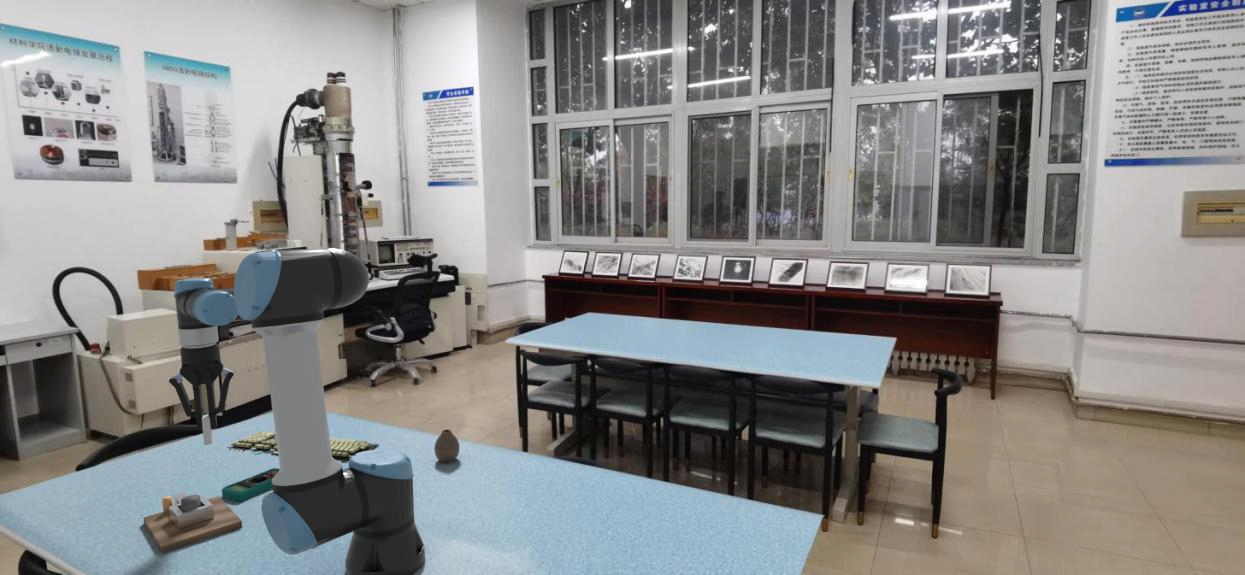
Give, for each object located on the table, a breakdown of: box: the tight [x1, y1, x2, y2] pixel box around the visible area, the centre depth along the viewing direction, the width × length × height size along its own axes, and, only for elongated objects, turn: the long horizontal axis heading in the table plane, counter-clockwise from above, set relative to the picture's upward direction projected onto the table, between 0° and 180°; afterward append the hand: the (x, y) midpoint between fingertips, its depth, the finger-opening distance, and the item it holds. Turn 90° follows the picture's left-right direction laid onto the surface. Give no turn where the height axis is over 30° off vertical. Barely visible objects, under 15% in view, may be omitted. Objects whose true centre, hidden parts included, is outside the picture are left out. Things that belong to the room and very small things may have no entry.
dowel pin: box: [161, 495, 173, 514], centre depth 146 cm, size 2×2×4 cm
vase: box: [433, 428, 460, 463], centre depth 180 cm, size 7×7×9 cm
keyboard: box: [227, 431, 380, 464], centre depth 189 cm, size 45×15×2 cm, turn 76°
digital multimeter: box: [221, 467, 280, 503], centre depth 162 cm, size 7×15×3 cm, turn 153°
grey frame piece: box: [169, 491, 214, 529], centre depth 144 cm, size 13×7×3 cm, turn 49°
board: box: [143, 494, 243, 554], centre depth 143 cm, size 18×15×6 cm
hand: (208, 442), depth 148 cm, fingers closed
